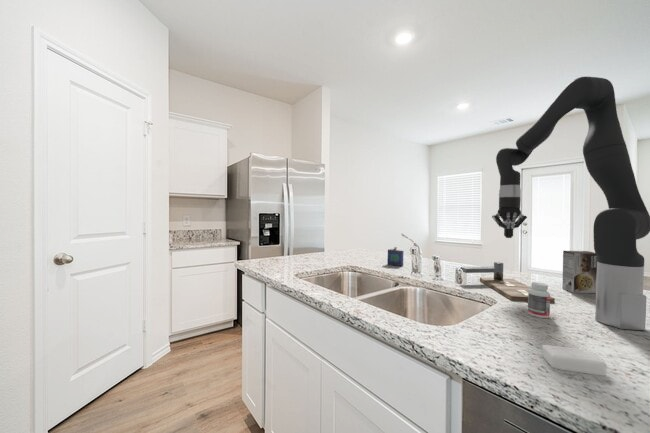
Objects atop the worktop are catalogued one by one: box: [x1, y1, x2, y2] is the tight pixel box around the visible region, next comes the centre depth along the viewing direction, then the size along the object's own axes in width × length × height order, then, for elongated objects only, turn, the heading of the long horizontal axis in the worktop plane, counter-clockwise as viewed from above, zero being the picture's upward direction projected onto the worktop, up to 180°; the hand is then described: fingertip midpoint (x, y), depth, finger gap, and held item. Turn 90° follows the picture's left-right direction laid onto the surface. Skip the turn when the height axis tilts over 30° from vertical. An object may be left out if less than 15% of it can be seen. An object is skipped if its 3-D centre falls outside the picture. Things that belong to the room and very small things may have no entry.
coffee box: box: [561, 250, 598, 294], centre depth 112 cm, size 9×6×16 cm
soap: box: [541, 344, 608, 377], centre depth 58 cm, size 9×6×3 cm, turn 72°
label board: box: [479, 277, 556, 304], centre depth 112 cm, size 28×14×2 cm, turn 172°
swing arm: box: [459, 261, 504, 280], centre depth 123 cm, size 19×4×7 cm, turn 97°
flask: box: [386, 246, 404, 267], centre depth 161 cm, size 9×3×11 cm, turn 61°
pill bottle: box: [527, 281, 551, 319], centre depth 85 cm, size 5×5×10 cm
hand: (508, 237), depth 116 cm, fingers closed
